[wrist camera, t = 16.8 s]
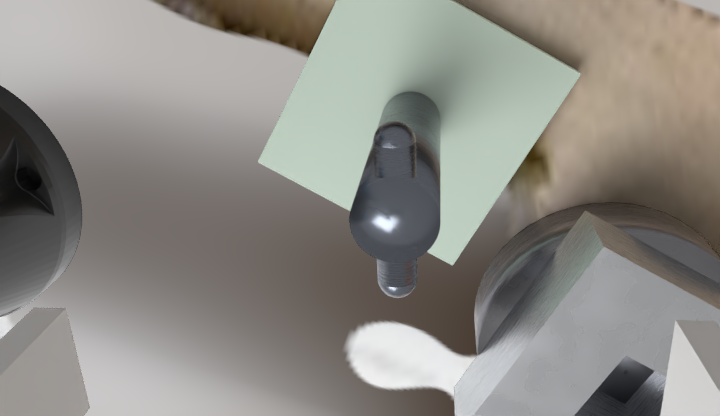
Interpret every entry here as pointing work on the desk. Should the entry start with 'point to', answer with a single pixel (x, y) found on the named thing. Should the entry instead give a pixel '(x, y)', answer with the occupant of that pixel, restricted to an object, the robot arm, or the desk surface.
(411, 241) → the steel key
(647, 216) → the chuck block
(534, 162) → the desk surface
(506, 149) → the sage mat
